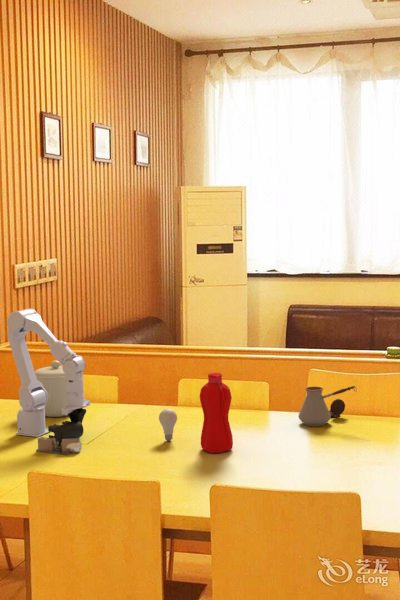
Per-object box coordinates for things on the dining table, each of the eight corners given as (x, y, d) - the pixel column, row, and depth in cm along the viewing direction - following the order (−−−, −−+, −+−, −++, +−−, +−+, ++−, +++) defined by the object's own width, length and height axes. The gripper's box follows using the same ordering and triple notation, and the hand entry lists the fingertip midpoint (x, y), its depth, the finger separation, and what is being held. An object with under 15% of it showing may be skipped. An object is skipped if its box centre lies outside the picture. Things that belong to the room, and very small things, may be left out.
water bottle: (213, 457, 250) (211, 378, 247) (197, 448, 260) (195, 372, 257) (239, 452, 254) (237, 374, 252) (222, 444, 264) (220, 369, 261)
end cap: (62, 447, 265) (61, 427, 264) (48, 444, 269) (47, 424, 268) (84, 440, 273) (83, 421, 272) (69, 437, 277) (69, 418, 276)
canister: (77, 419, 301) (74, 364, 299) (29, 420, 302) (26, 365, 299) (84, 408, 319) (82, 355, 317) (39, 409, 319) (36, 356, 317)
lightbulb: (180, 439, 271) (179, 407, 270) (172, 444, 265) (171, 411, 264) (164, 437, 273) (163, 406, 272) (156, 442, 268) (155, 410, 267)
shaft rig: (36, 451, 262) (35, 438, 261) (46, 446, 267) (45, 434, 266) (73, 455, 255) (72, 443, 255) (83, 451, 260) (82, 438, 260)
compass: (333, 413, 301) (333, 394, 300) (345, 417, 293) (345, 398, 293) (315, 415, 297) (315, 396, 296) (327, 420, 290) (327, 400, 289)
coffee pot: (293, 425, 284) (292, 384, 282) (306, 418, 294) (305, 378, 292) (350, 432, 273) (350, 389, 271) (362, 424, 283) (361, 382, 281)
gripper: (73, 397, 267) (75, 437, 268) (96, 388, 280) (98, 426, 281) (55, 395, 270) (57, 435, 271) (79, 386, 283) (81, 424, 284)
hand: (77, 430), depth 277 cm, fingers closed
